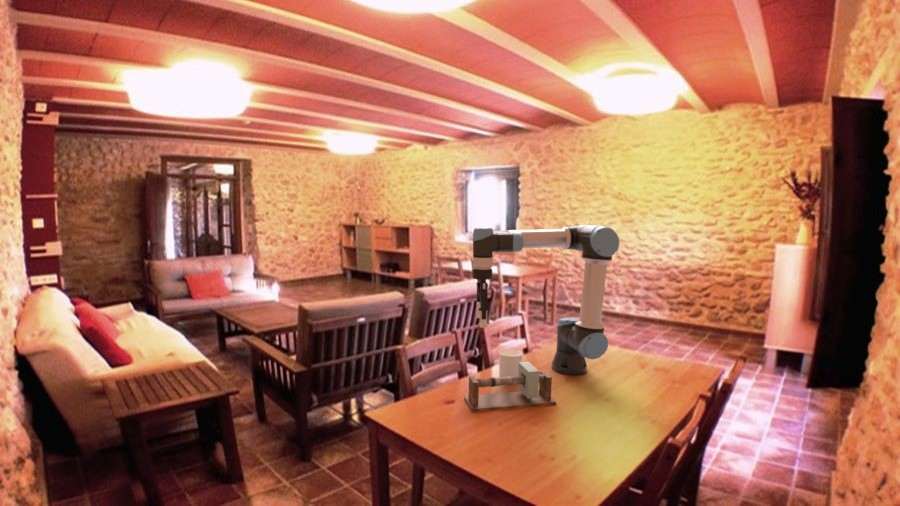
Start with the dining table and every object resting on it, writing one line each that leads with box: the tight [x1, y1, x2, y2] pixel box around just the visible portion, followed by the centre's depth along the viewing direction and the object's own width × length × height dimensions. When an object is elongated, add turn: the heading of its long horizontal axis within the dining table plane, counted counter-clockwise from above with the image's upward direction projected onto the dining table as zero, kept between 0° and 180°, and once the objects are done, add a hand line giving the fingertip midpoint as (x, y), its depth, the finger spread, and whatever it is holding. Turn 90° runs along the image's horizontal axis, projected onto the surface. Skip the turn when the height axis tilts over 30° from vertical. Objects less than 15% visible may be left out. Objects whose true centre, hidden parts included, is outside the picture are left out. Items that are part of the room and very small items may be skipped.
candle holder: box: [498, 348, 524, 377], centre depth 185 cm, size 10×10×12 cm
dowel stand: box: [463, 370, 557, 413], centre depth 165 cm, size 32×11×10 cm, turn 103°
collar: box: [517, 361, 540, 398], centre depth 166 cm, size 4×10×10 cm, turn 13°
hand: (481, 322), depth 172 cm, fingers open, 13 cm apart
